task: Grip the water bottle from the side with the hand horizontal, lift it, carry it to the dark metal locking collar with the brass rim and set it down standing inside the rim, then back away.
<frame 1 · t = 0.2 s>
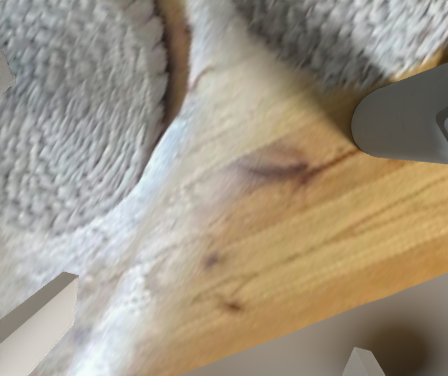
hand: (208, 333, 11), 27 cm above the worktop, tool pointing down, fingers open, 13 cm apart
showerhead: (12, 80, 37), on the worktop
water bottle: (381, 124, 35), on the worktop
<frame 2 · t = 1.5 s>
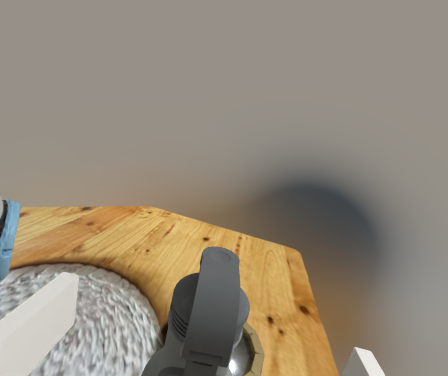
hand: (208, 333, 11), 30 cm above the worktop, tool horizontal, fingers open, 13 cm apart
collar: (213, 350, 45), on the worktop
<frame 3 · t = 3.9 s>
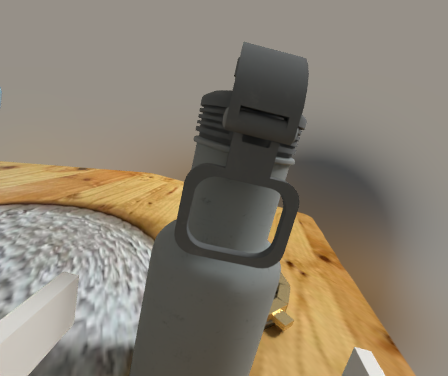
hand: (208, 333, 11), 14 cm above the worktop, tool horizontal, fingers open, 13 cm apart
collar: (230, 283, 39), on the worktop
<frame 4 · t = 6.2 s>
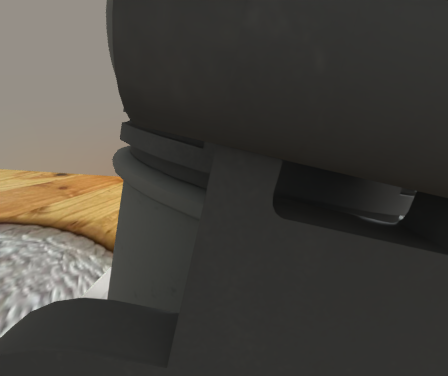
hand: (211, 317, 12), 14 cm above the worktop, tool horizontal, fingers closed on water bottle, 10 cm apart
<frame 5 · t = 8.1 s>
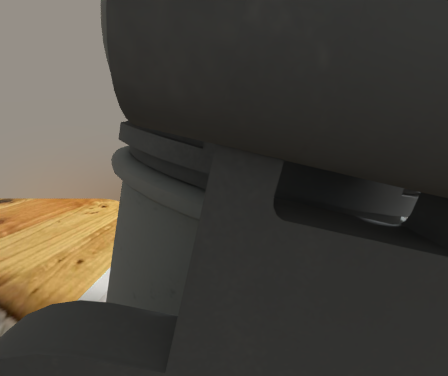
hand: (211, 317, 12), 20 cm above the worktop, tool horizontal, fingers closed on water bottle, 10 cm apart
when the fingers open (16 cm above the worktop, at t = 10.0 s): water bottle stays where it is, resting on collar.
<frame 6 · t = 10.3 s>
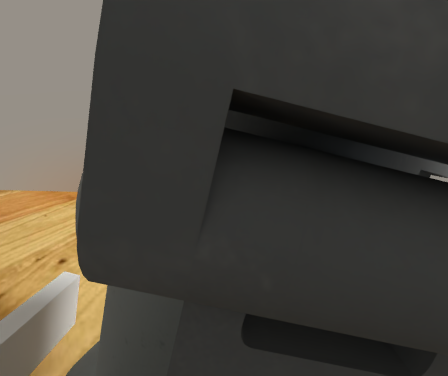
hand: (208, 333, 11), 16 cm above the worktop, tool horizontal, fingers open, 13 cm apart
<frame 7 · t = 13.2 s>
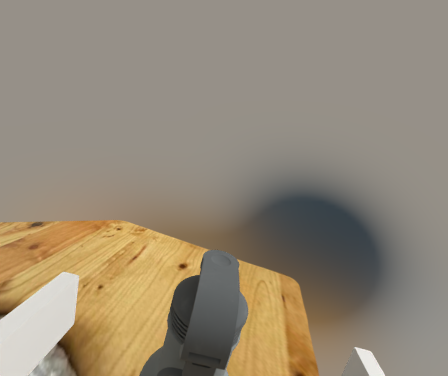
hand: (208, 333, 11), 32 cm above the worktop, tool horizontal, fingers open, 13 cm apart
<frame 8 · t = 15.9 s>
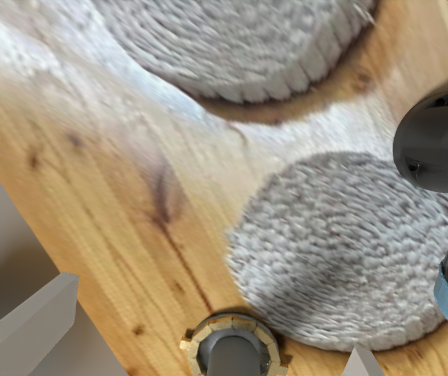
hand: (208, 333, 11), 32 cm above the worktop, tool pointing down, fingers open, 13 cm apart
collar: (233, 350, 50), on the worktop
water bottle: (234, 353, 49), point 1 cm above the worktop, touching collar
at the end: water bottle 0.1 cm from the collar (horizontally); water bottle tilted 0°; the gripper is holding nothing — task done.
